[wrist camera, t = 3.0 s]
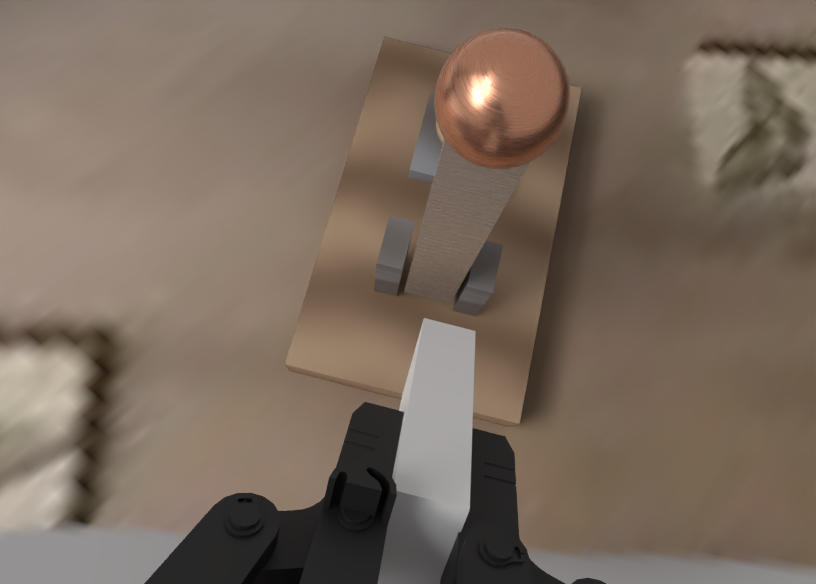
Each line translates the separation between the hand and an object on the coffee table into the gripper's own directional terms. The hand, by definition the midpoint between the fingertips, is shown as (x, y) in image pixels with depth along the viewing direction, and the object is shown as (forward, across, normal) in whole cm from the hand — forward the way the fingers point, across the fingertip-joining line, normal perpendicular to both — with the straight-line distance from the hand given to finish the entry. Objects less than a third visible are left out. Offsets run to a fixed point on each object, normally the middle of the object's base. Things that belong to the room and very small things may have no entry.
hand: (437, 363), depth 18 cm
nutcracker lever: (+13, 0, -3) cm, 13 cm away
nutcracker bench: (+18, 0, -3) cm, 19 cm away
